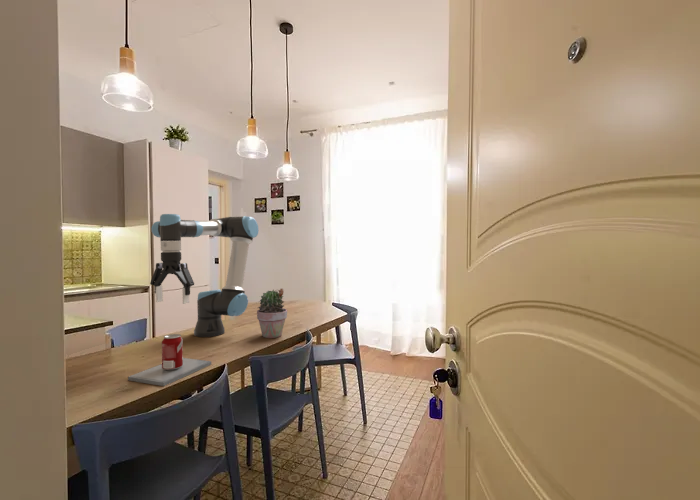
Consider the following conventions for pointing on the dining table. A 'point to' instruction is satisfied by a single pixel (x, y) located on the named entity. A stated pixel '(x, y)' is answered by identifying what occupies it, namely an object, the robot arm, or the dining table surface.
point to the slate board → (169, 372)
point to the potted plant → (271, 314)
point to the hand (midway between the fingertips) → (172, 302)
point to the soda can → (172, 352)
